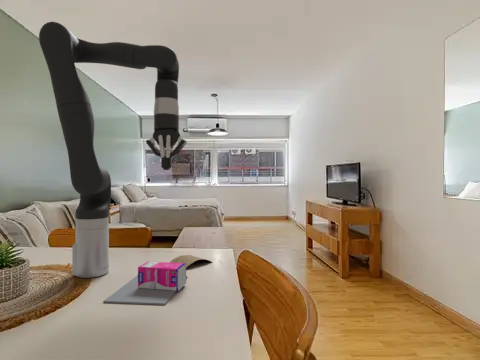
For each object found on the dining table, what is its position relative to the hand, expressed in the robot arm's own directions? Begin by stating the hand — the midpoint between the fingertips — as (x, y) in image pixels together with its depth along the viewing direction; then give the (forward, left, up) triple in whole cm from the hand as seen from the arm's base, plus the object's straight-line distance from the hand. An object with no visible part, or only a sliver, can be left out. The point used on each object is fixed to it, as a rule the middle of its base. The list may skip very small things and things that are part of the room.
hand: (166, 169), depth 98 cm
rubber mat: (+1, -15, -32) cm, 35 cm away
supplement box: (+9, -15, -29) cm, 33 cm away
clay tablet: (+5, +10, -33) cm, 35 cm away
